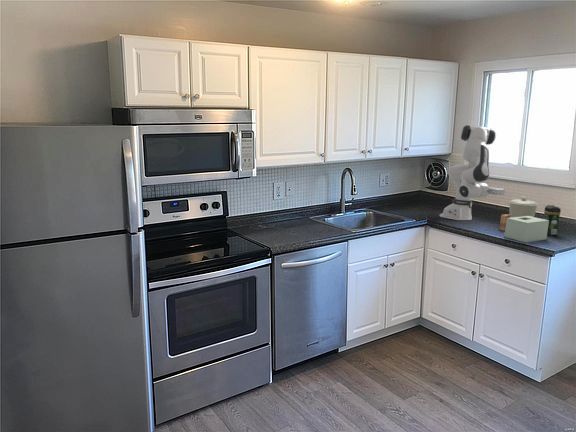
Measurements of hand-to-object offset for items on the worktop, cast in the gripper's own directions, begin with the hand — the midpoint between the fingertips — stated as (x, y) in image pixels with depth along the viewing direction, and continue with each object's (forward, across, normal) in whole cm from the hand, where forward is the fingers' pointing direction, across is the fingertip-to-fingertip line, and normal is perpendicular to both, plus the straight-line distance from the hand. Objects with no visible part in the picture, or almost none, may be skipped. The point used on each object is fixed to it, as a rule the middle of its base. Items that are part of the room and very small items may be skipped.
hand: (497, 189), depth 295 cm
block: (+12, 0, +28) cm, 30 cm away
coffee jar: (+30, -19, +28) cm, 45 cm away
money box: (+4, -21, +28) cm, 35 cm away
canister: (+31, +3, +28) cm, 42 cm away
